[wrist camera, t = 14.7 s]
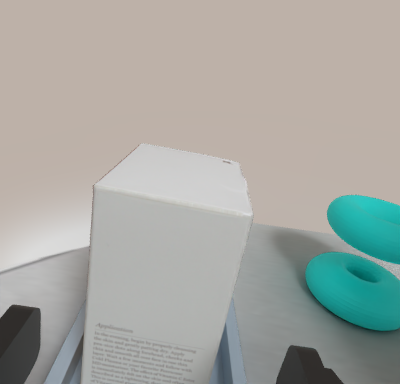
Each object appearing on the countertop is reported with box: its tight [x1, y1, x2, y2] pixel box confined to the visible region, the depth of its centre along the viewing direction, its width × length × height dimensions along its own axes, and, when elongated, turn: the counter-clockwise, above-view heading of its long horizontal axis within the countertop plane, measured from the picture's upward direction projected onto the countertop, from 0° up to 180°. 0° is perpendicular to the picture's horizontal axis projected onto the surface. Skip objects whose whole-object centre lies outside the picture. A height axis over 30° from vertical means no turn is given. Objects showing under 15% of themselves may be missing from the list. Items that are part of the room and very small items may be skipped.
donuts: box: [305, 195, 400, 331], centre depth 30 cm, size 10×10×10 cm
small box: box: [80, 143, 254, 384], centre depth 17 cm, size 8×6×13 cm
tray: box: [44, 296, 247, 384], centre depth 20 cm, size 11×13×3 cm
